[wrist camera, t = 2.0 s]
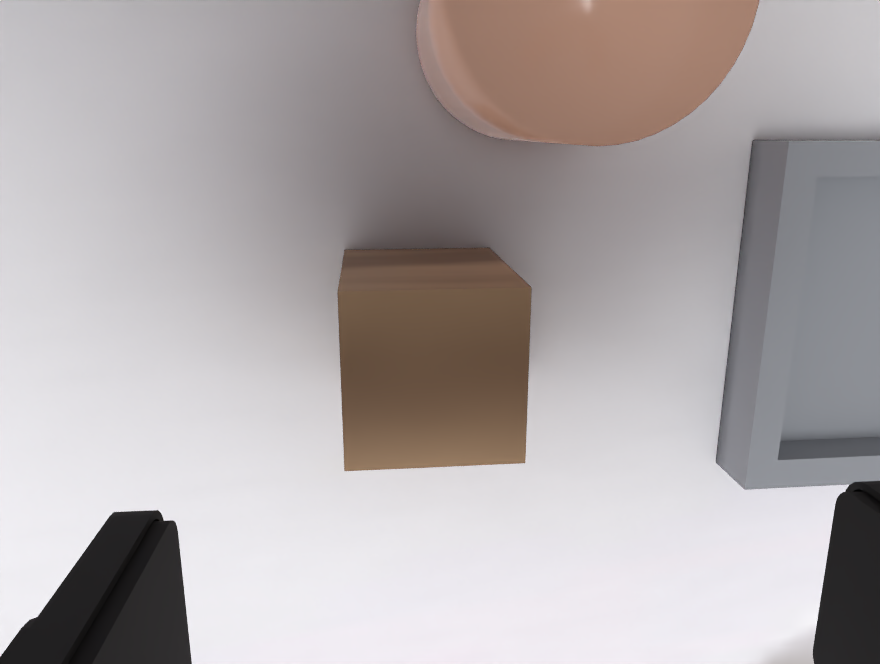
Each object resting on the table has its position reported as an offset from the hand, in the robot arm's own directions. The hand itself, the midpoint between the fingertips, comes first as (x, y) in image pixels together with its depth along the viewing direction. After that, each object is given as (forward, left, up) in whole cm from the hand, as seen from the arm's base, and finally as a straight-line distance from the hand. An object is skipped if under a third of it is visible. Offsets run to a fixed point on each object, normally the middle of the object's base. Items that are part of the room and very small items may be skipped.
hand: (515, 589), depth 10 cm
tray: (0, +16, -14) cm, 21 cm away
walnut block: (0, 0, -14) cm, 14 cm away
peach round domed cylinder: (-9, +3, -14) cm, 16 cm away
